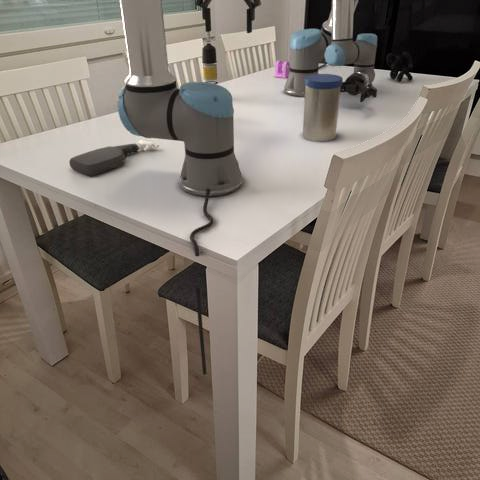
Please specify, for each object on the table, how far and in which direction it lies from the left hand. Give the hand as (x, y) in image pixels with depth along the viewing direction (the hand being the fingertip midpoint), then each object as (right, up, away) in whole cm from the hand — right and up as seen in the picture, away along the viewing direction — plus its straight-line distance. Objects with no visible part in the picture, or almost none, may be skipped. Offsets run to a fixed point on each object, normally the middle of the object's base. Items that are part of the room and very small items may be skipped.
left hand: (228, 32), depth 139 cm
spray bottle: (-31, -42, -14) cm, 54 cm away
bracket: (+26, +14, +75) cm, 81 cm away
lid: (+28, -18, -9) cm, 34 cm away
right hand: (+38, -16, +12) cm, 43 cm away
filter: (-8, -8, +40) cm, 42 cm away
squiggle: (+76, +7, +62) cm, 98 cm away
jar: (+28, -32, 0) cm, 43 cm away
